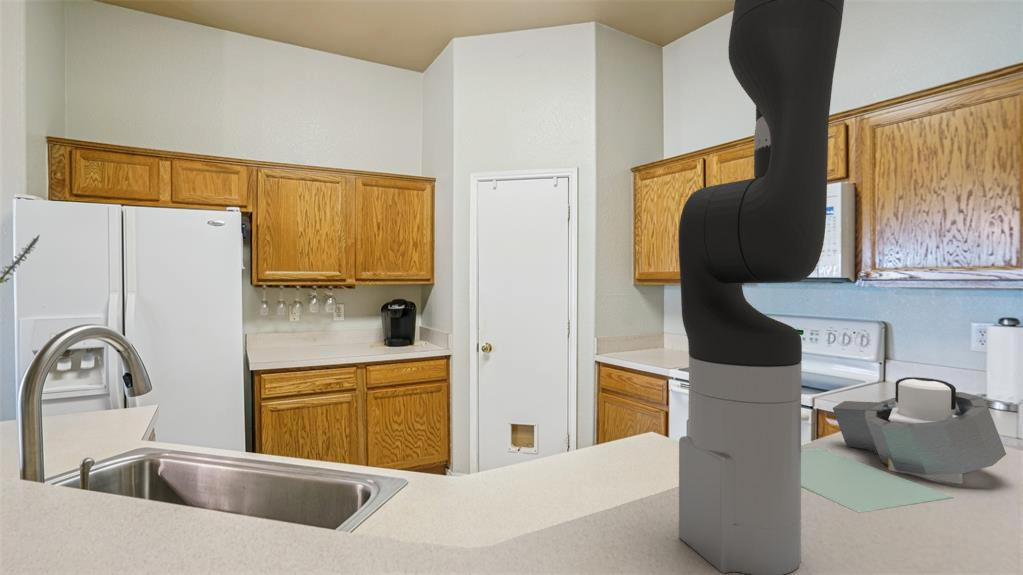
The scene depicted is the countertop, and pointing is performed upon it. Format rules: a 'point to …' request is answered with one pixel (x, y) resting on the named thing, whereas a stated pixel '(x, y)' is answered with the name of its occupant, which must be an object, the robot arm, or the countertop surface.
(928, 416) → the medicine bottle
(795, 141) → the robot arm
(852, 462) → the mat
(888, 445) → the ring
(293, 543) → the countertop surface
